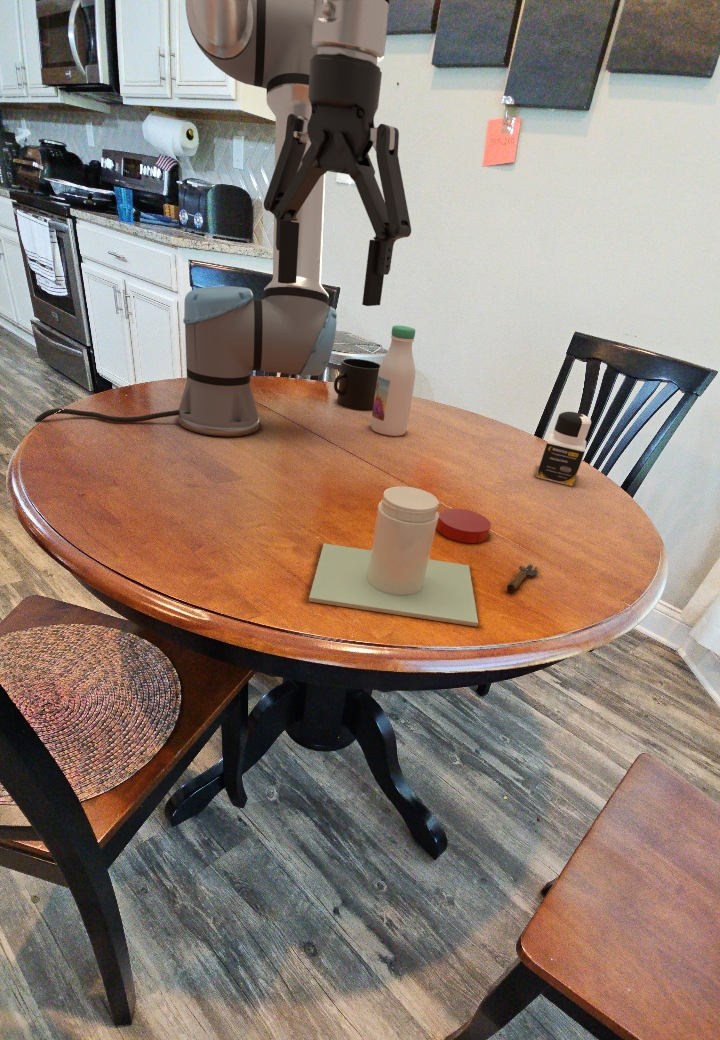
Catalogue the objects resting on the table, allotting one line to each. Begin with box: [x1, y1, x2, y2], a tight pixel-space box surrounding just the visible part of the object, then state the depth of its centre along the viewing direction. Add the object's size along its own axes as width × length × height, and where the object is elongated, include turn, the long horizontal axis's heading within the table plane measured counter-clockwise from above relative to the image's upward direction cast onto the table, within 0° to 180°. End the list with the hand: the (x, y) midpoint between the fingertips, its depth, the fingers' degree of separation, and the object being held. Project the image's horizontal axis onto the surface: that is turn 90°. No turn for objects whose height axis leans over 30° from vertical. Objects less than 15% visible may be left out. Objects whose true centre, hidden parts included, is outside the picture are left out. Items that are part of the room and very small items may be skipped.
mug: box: [333, 358, 381, 411], centre depth 136 cm, size 9×12×9 cm
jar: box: [367, 485, 440, 595], centre depth 71 cm, size 7×7×11 cm
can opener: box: [506, 563, 539, 593], centre depth 79 cm, size 9×2×1 cm, turn 141°
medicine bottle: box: [535, 411, 592, 487], centre depth 112 cm, size 7×7×12 cm
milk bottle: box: [370, 324, 416, 437], centre depth 120 cm, size 8×8×20 cm
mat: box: [308, 543, 479, 627], centre depth 74 cm, size 20×14×1 cm
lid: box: [436, 507, 492, 544], centre depth 89 cm, size 8×8×2 cm
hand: (327, 293), depth 74 cm, fingers open, 13 cm apart
